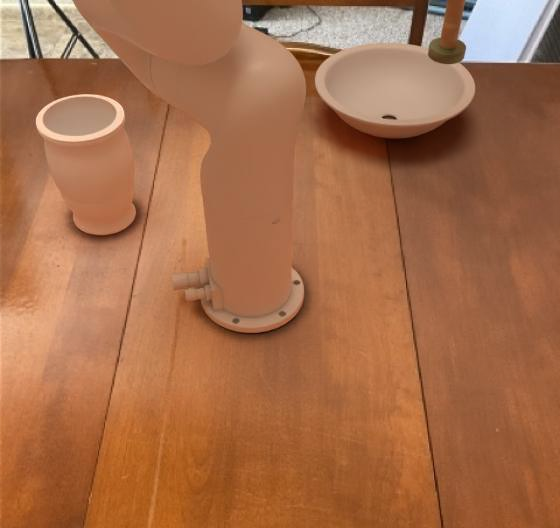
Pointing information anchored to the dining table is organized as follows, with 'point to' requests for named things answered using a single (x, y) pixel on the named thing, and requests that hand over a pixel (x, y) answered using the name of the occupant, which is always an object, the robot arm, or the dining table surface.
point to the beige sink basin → (393, 89)
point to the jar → (90, 160)
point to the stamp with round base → (449, 36)
